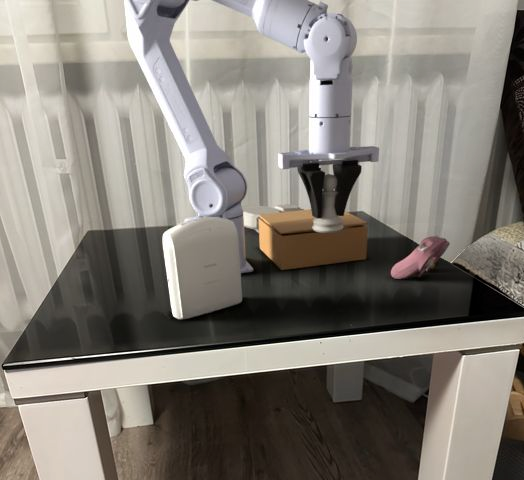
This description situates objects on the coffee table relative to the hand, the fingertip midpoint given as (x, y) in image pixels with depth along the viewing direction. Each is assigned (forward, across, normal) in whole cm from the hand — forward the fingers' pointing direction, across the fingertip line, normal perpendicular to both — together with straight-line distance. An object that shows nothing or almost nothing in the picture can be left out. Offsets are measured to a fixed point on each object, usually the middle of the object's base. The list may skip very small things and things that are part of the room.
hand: (327, 215), depth 80 cm
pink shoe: (+10, +14, -4) cm, 17 cm away
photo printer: (+10, -20, -6) cm, 23 cm away
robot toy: (+10, +1, +31) cm, 32 cm away
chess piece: (+2, 0, 0) cm, 2 cm away
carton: (+9, +2, +12) cm, 15 cm away
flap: (+3, +2, +15) cm, 15 cm away
